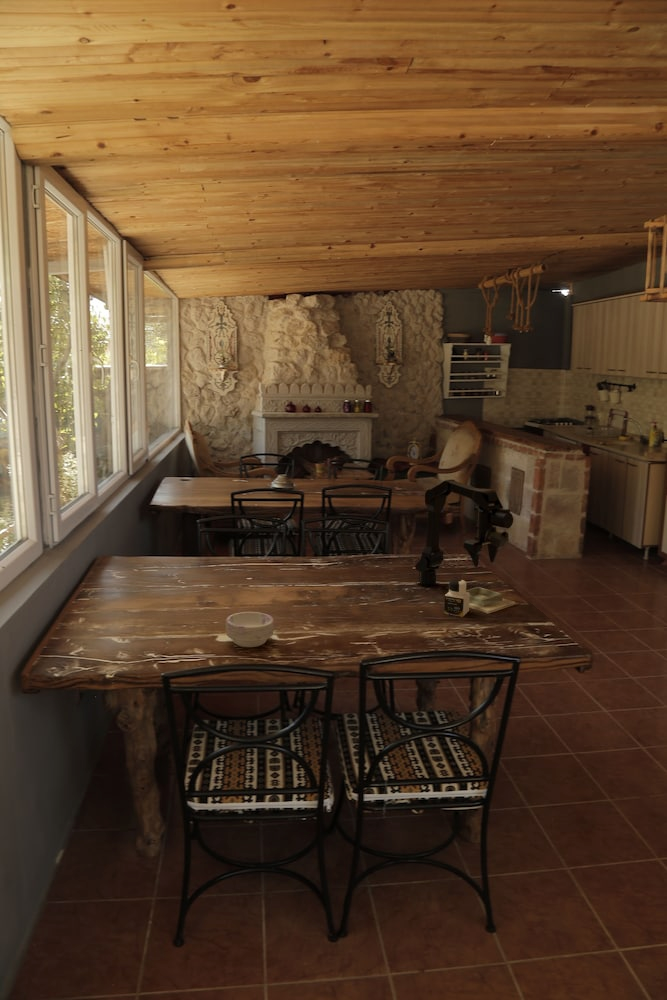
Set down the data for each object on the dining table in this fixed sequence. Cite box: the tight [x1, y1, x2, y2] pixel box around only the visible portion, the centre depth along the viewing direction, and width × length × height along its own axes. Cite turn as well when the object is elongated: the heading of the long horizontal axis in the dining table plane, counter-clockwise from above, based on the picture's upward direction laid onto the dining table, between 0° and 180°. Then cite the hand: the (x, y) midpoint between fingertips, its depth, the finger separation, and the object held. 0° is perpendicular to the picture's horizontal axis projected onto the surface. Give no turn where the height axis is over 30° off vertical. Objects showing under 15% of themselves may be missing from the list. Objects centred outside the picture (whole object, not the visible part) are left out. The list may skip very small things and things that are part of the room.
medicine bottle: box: [443, 578, 470, 618], centre depth 273 cm, size 7×7×12 cm
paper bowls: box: [225, 611, 275, 648], centre depth 243 cm, size 15×15×8 cm
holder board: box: [466, 586, 516, 614], centre depth 286 cm, size 20×16×4 cm
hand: (484, 564), depth 284 cm, fingers open, 9 cm apart
